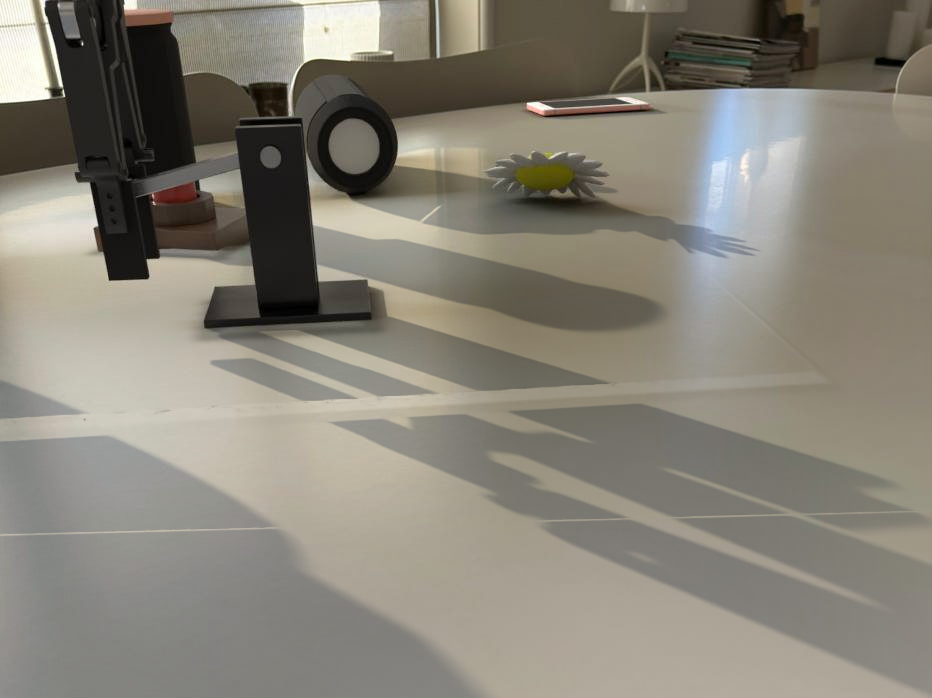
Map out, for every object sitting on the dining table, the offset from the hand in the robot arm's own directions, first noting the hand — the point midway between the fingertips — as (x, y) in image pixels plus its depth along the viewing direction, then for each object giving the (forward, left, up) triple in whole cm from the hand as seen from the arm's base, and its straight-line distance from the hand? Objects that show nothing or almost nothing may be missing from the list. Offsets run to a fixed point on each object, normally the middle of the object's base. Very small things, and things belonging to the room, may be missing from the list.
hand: (135, 267), depth 77 cm
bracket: (+10, +4, -4) cm, 12 cm away
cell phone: (+16, +117, -4) cm, 118 cm away
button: (-9, +24, 0) cm, 25 cm away
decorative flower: (+20, +53, -4) cm, 57 cm away
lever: (+6, +2, +5) cm, 8 cm away
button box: (-9, +24, -4) cm, 26 cm away
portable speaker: (-4, +57, -4) cm, 57 cm away
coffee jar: (-20, +39, -4) cm, 44 cm away
